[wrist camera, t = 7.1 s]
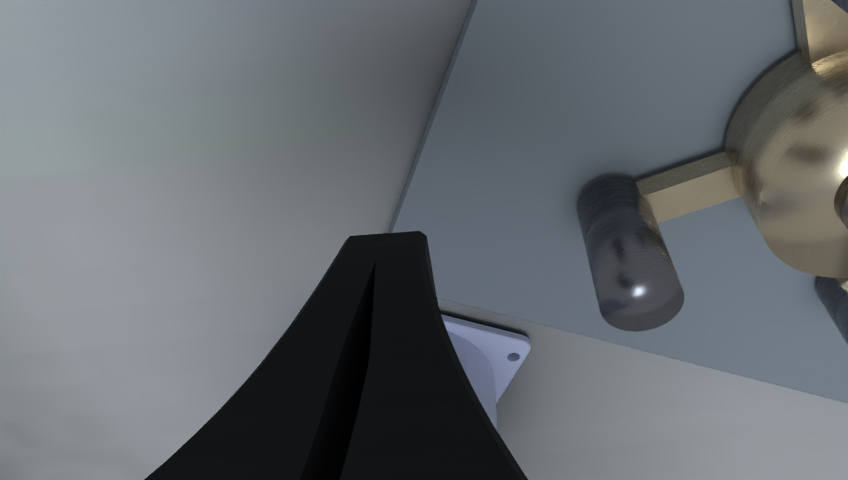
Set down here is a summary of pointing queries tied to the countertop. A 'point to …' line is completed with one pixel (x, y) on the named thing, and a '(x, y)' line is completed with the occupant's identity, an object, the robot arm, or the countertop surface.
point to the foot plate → (612, 157)
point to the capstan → (742, 185)
